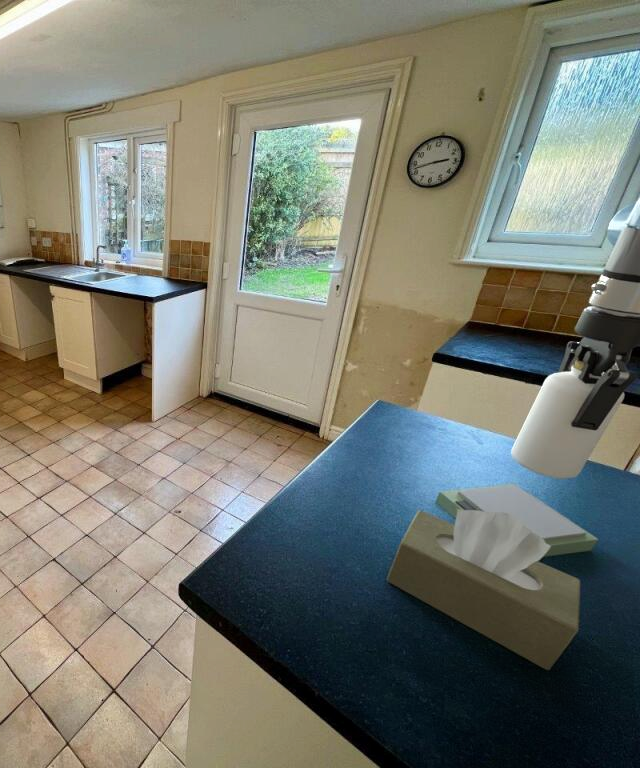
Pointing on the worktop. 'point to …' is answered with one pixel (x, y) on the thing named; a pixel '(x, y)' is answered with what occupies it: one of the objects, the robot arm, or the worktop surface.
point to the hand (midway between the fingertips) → (548, 453)
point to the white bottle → (559, 427)
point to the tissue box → (490, 581)
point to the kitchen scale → (521, 515)
